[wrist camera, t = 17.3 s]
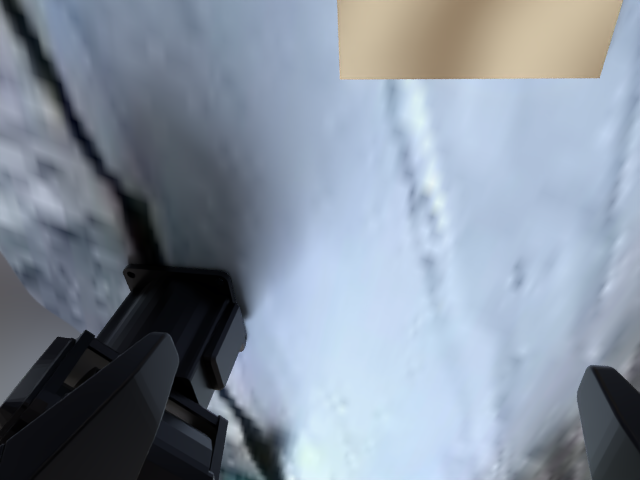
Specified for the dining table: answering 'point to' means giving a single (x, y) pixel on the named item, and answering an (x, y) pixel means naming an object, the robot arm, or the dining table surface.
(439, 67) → the board
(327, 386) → the dining table surface
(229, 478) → the dining table surface
